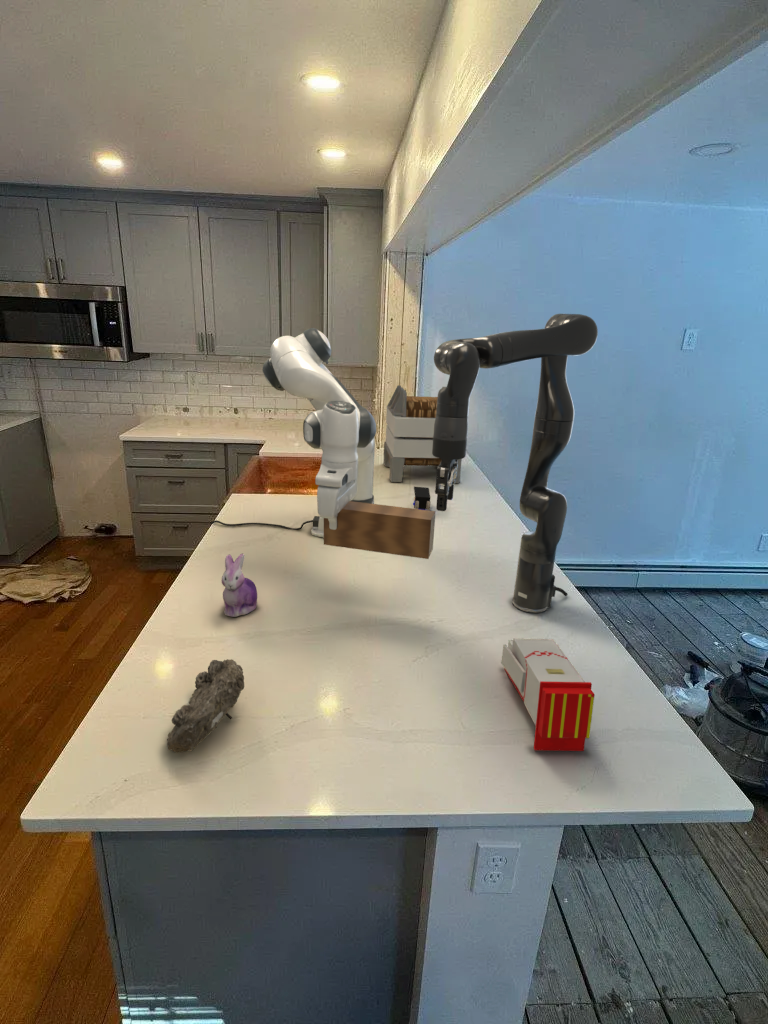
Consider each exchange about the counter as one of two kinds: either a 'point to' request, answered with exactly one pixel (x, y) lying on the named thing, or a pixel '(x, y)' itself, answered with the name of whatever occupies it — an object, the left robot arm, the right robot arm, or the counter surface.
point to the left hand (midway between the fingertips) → (338, 523)
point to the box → (383, 529)
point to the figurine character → (421, 498)
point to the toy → (550, 693)
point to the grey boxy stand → (410, 433)
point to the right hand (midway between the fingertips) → (444, 504)
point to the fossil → (206, 705)
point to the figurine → (237, 589)
